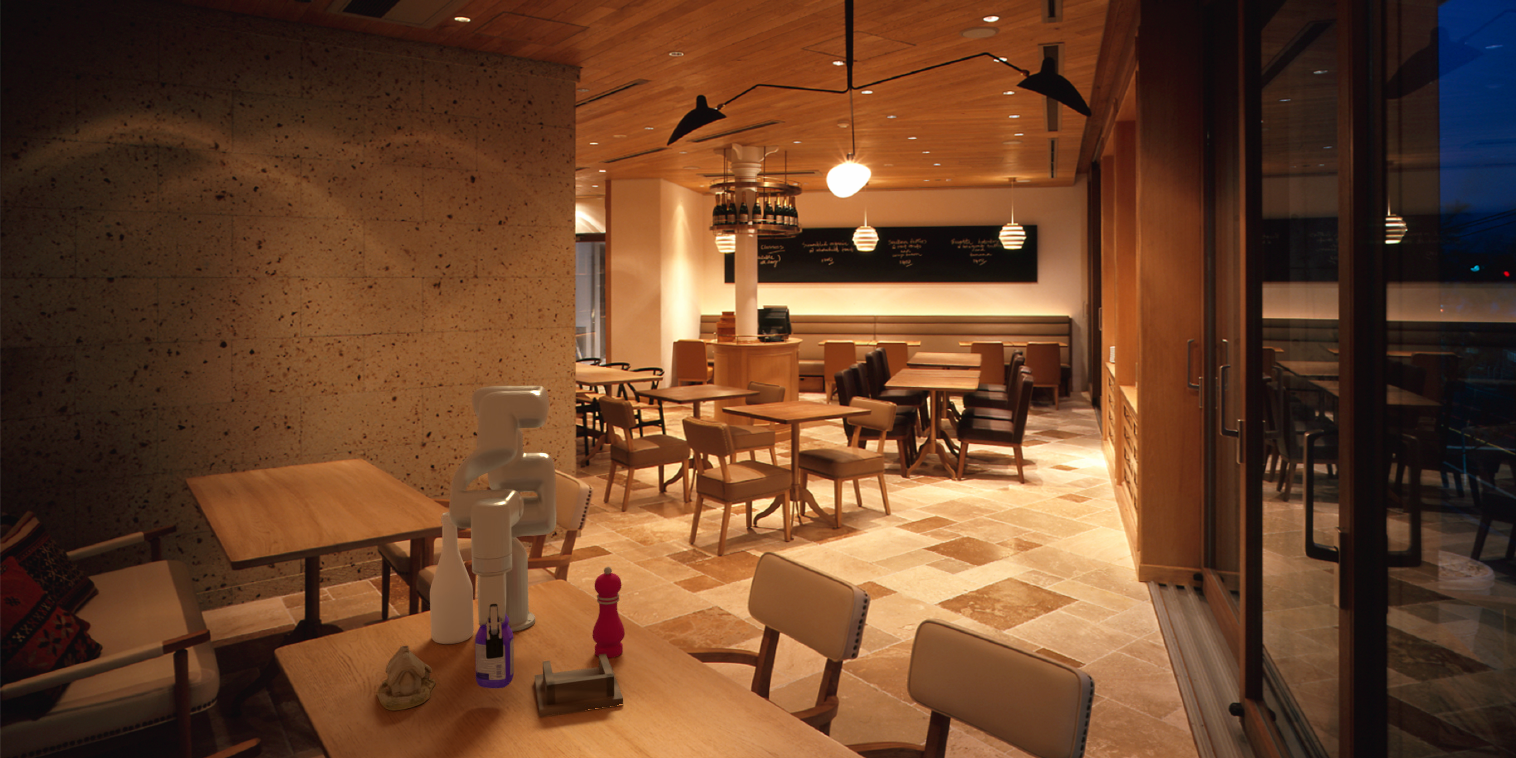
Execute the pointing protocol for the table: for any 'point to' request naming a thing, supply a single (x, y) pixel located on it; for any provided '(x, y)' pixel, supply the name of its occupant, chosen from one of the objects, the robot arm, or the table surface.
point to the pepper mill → (608, 616)
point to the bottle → (494, 669)
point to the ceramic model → (405, 681)
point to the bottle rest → (577, 689)
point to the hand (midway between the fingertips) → (494, 649)
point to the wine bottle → (451, 592)
